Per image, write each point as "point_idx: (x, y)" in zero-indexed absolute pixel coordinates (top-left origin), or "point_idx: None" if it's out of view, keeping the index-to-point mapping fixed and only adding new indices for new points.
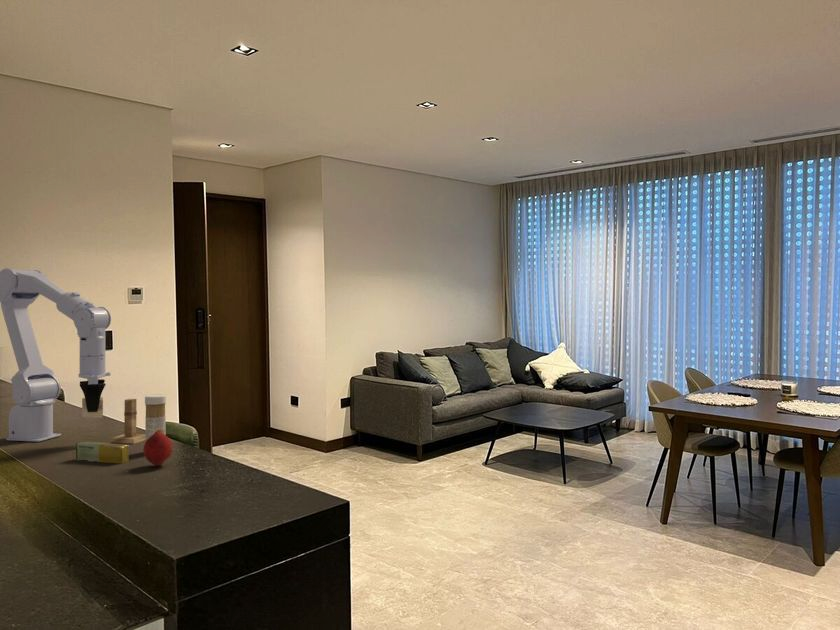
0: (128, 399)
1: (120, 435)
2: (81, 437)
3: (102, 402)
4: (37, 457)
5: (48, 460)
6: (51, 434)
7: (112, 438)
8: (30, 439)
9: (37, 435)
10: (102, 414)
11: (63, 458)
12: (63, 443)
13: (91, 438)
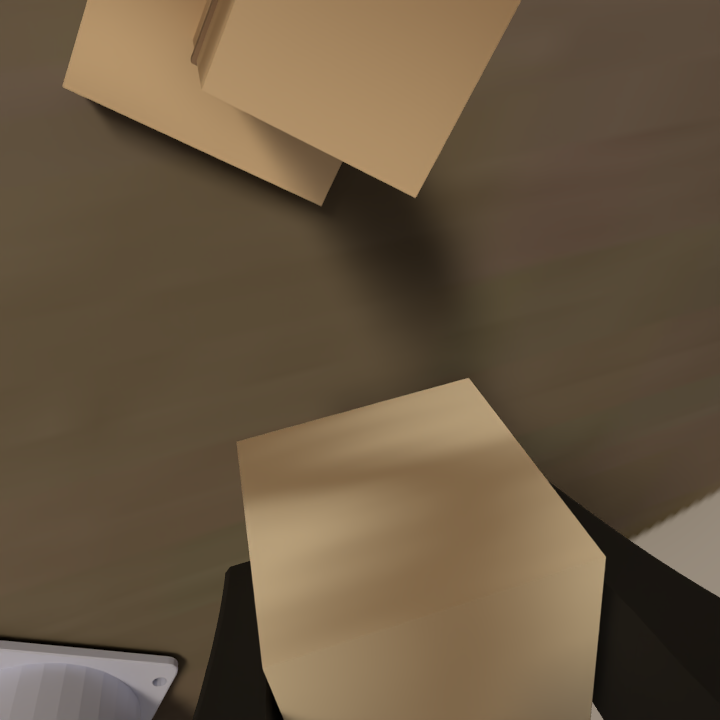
0: (373, 93)
1: (192, 144)
2: (7, 494)
3: (576, 520)
4: (595, 510)
5: (693, 440)
6: (33, 674)
7: (319, 202)
8: (150, 708)
9: (129, 711)
10: (483, 404)
11: (689, 387)
12: (240, 526)
13: (61, 411)
